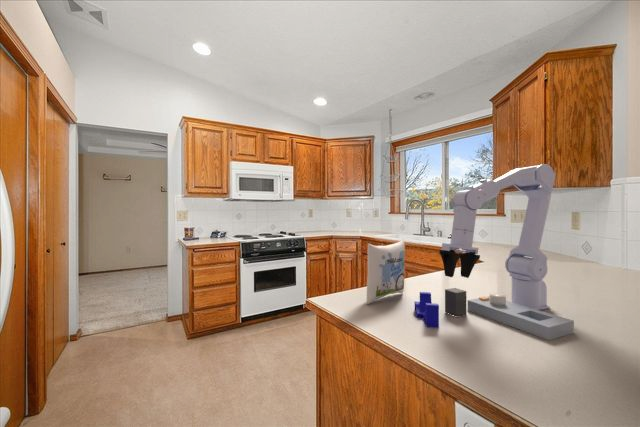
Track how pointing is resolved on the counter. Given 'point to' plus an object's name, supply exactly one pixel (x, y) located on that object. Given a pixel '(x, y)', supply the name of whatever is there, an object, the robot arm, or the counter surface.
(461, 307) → the plug
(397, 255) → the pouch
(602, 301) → the counter surface
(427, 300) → the cable clip
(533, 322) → the power strip
